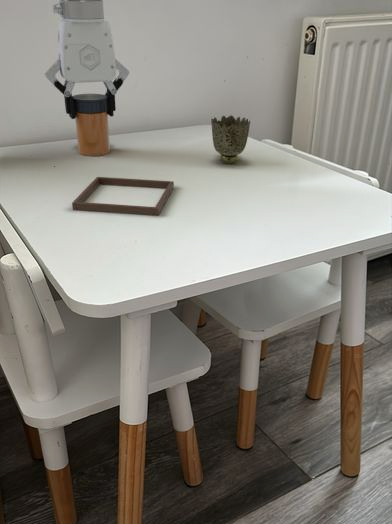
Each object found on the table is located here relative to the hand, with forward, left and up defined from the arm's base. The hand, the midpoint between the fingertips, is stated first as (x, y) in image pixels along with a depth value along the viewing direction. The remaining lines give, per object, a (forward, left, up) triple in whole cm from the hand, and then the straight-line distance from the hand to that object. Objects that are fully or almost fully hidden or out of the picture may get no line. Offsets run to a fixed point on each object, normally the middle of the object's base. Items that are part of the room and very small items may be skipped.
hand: (91, 115), depth 111 cm
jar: (0, 0, -7) cm, 7 cm away
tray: (+14, -29, -7) cm, 33 cm away
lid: (0, 0, +3) cm, 3 cm away
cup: (+28, -2, -7) cm, 29 cm away
